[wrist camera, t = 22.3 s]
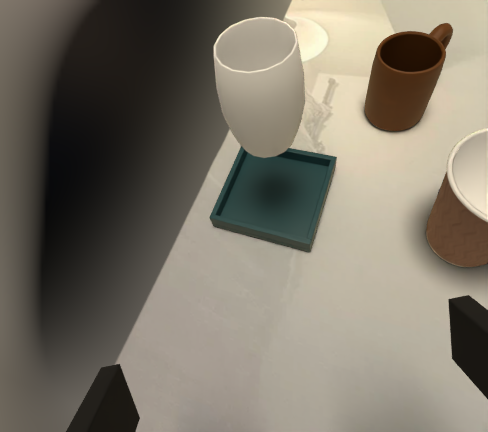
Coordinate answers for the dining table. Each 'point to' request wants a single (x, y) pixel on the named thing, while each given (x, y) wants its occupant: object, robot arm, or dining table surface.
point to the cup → (260, 84)
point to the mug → (405, 77)
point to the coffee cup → (463, 205)
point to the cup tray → (275, 197)
